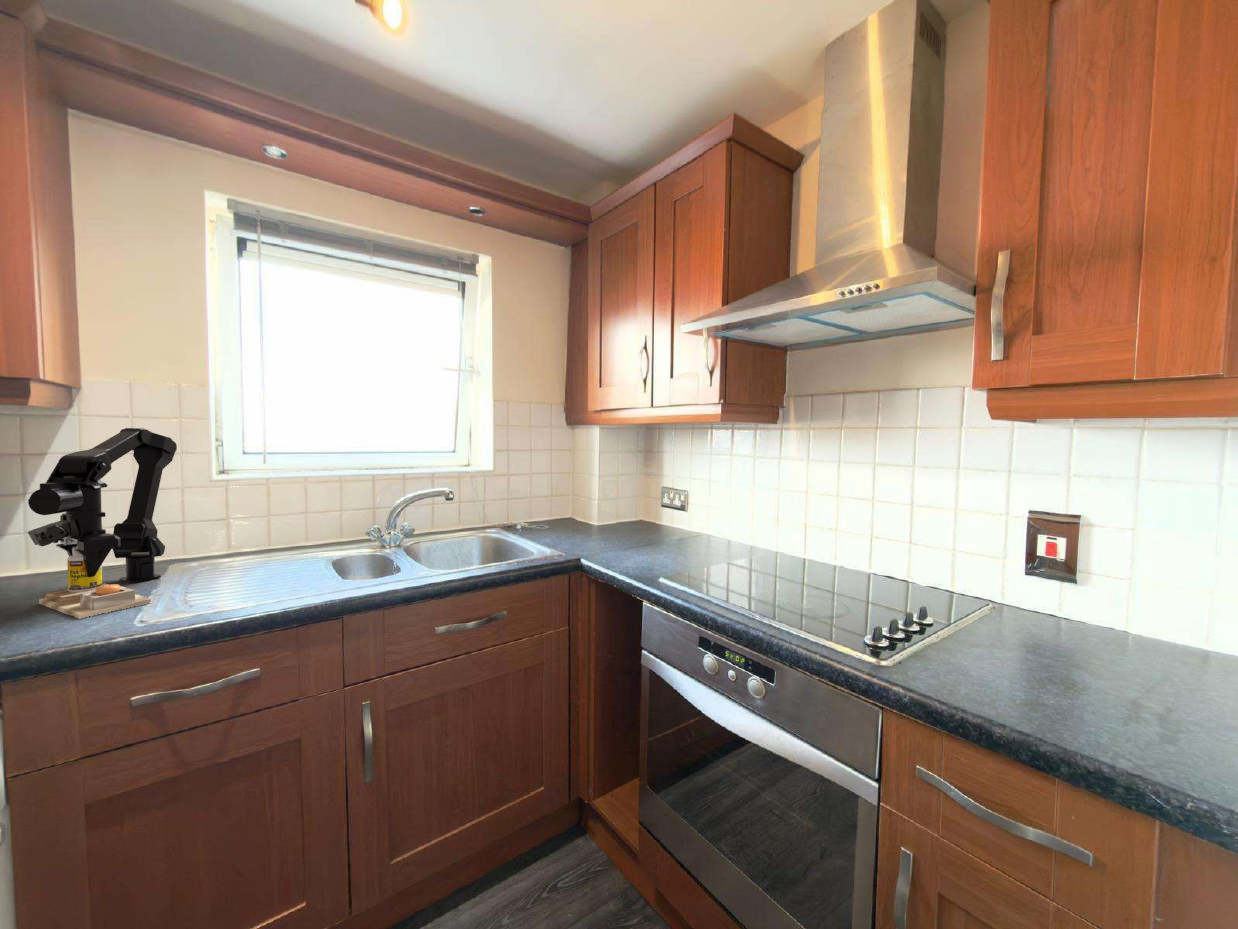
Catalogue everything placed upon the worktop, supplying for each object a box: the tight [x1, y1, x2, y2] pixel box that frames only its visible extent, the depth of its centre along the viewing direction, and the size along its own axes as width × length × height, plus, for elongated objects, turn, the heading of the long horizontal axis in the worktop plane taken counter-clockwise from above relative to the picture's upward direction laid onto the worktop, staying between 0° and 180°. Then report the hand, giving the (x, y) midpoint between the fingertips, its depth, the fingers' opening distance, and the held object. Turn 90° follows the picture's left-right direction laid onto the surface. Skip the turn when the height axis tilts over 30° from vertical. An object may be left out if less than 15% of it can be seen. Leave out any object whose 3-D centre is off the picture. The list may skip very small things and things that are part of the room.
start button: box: [96, 583, 121, 596], centre depth 114 cm, size 4×4×2 cm
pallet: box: [38, 582, 152, 620], centre depth 117 cm, size 20×12×4 cm, turn 65°
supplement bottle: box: [66, 547, 103, 593], centre depth 119 cm, size 6×6×10 cm
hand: (85, 574), depth 119 cm, fingers closed on supplement bottle, 5 cm apart
